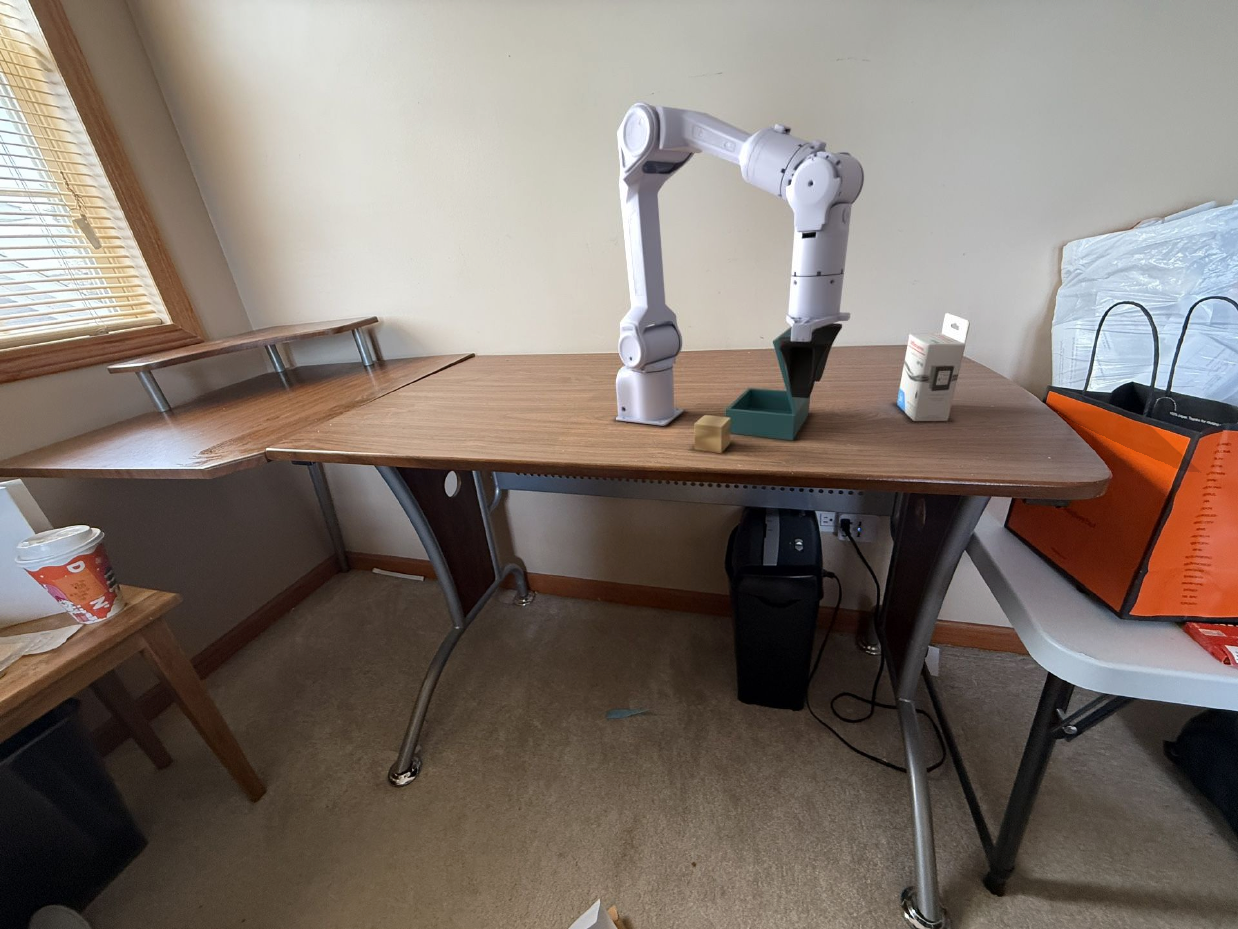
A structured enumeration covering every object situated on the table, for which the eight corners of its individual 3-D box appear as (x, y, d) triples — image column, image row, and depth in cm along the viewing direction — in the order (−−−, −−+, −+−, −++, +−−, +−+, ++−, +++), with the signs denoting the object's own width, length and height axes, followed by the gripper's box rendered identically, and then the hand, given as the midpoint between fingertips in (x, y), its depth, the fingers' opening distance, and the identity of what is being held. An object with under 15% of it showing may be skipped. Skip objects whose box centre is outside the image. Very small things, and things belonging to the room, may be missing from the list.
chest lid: (772, 341, 66) (806, 330, 63) (791, 325, 75) (822, 316, 72) (792, 414, 68) (826, 407, 65) (809, 390, 78) (839, 383, 75)
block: (694, 449, 69) (694, 423, 68) (704, 439, 72) (704, 414, 71) (721, 453, 67) (721, 426, 66) (730, 443, 70) (730, 417, 69)
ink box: (895, 404, 80) (911, 313, 74) (927, 404, 79) (946, 312, 73) (913, 422, 73) (932, 322, 67) (949, 422, 72) (972, 320, 66)
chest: (724, 432, 75) (725, 409, 73) (747, 408, 84) (748, 387, 82) (792, 440, 70) (794, 416, 68) (808, 414, 79) (810, 392, 77)
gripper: (847, 279, 48) (831, 408, 53) (861, 268, 59) (847, 375, 65) (775, 281, 51) (767, 402, 57) (801, 270, 62) (793, 372, 68)
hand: (806, 388), depth 61 cm, fingers open, 7 cm apart
